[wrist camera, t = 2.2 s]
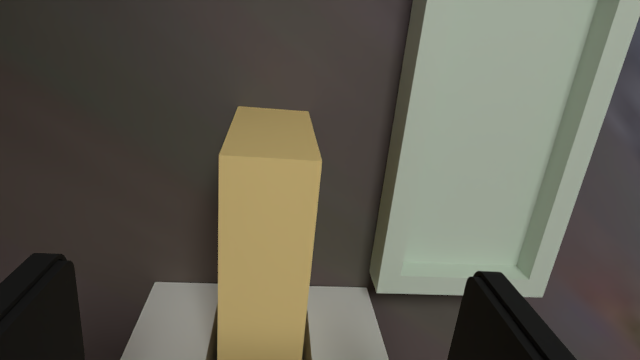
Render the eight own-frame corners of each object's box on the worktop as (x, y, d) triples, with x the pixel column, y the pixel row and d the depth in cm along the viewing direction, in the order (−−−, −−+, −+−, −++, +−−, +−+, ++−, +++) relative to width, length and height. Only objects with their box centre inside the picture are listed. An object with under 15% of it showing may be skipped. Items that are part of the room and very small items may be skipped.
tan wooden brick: (238, 105, 18) (218, 155, 12) (308, 110, 19) (322, 161, 13) (232, 329, 23) (216, 445, 17) (289, 330, 23) (292, 444, 17)
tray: (427, -91, 16) (444, -103, 14) (631, -65, 17) (669, -72, 15) (369, 271, 22) (376, 293, 20) (523, 276, 23) (542, 297, 21)
